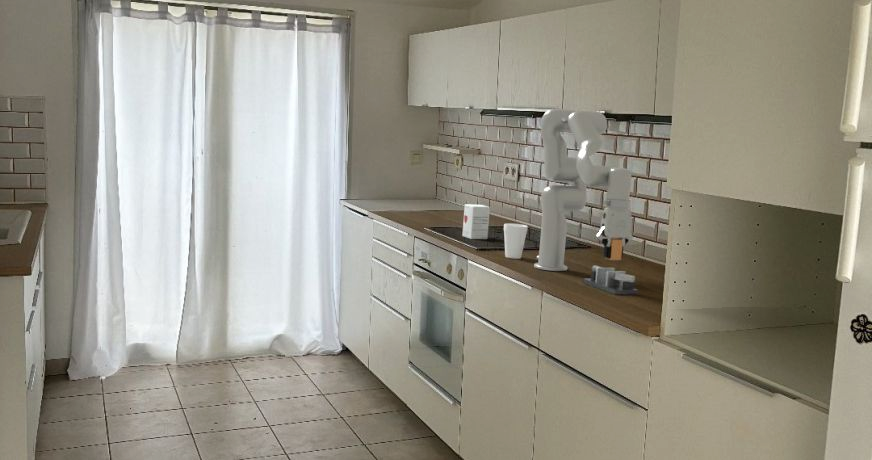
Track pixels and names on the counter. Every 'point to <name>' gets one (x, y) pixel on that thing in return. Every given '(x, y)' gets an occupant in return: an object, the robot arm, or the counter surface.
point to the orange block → (616, 249)
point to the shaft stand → (611, 280)
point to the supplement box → (476, 221)
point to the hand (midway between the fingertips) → (613, 257)
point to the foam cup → (514, 239)
